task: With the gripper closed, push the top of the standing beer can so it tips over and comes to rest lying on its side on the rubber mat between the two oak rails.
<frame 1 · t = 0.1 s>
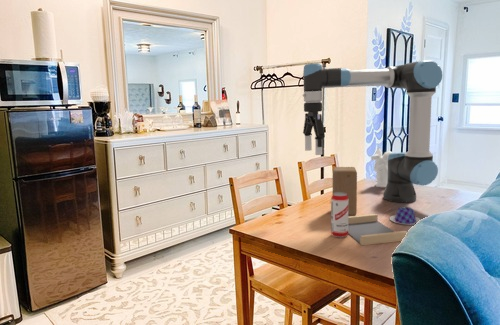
hand: (313, 152, 157), 28 cm above the table, fingers open, 13 cm apart
cradle: (369, 232, 140), on the table
wooden block: (344, 213, 165), on the table
pudding: (405, 221, 151), on the table
cherub figurine: (379, 186, 209), on the table
beer can: (339, 235, 138), on the table
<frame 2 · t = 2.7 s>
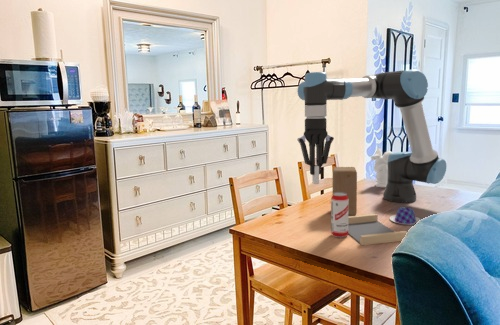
hand: (315, 183, 133), 21 cm above the table, fingers closed
nothing on the table moved.
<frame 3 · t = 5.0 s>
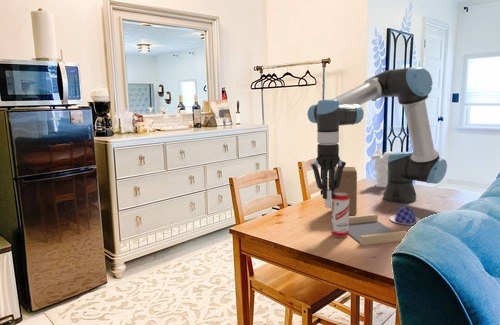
hand: (328, 207, 136), 11 cm above the table, fingers closed
beer can: (339, 235, 138), on the table, touching gripper
everything else where it was.
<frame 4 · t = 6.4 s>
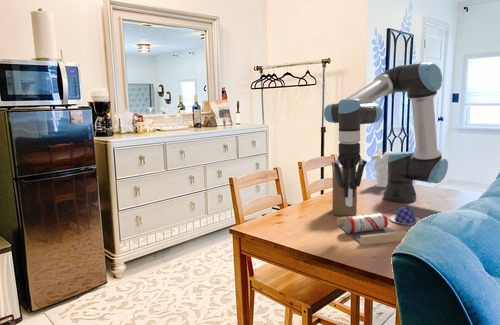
hand: (348, 205, 137), 11 cm above the table, fingers closed
beer can: (345, 225, 138), point 4 cm above the table, touching cradle
everything else where it was.
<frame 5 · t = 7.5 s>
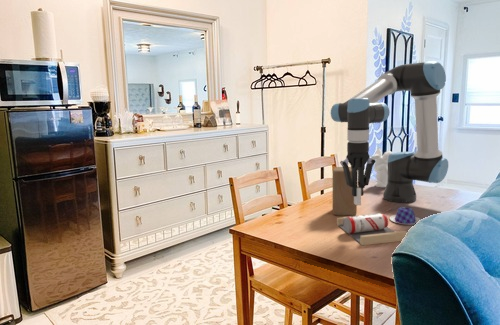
hand: (357, 204, 137), 11 cm above the table, fingers closed
nothing on the table moved.
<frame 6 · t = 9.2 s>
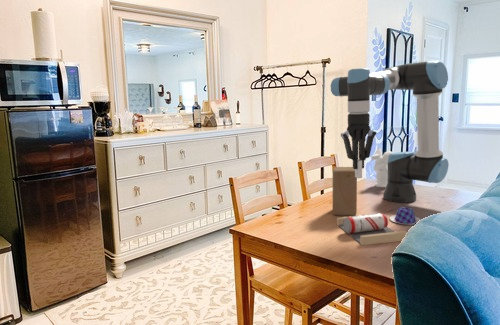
hand: (358, 177, 136), 22 cm above the table, fingers closed
nothing on the table moved.
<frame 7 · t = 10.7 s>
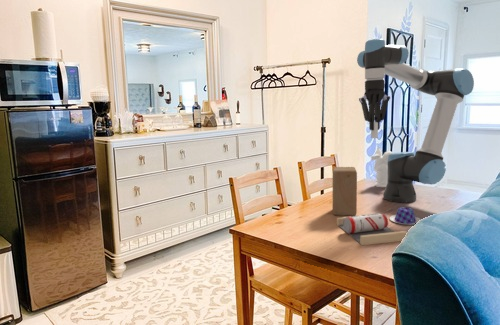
hand: (374, 137, 153), 34 cm above the table, fingers closed
nothing on the table moved.
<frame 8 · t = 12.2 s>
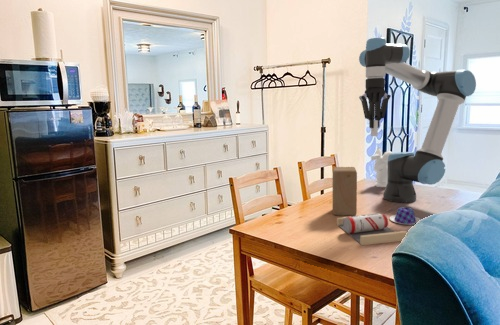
hand: (374, 135, 154), 34 cm above the table, fingers closed
nothing on the table moved.
at the end: beer can tilted 90°; beer can inside the target area (7.1 cm from its centre), point 3.5 cm above the table; the gripper is holding nothing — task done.
